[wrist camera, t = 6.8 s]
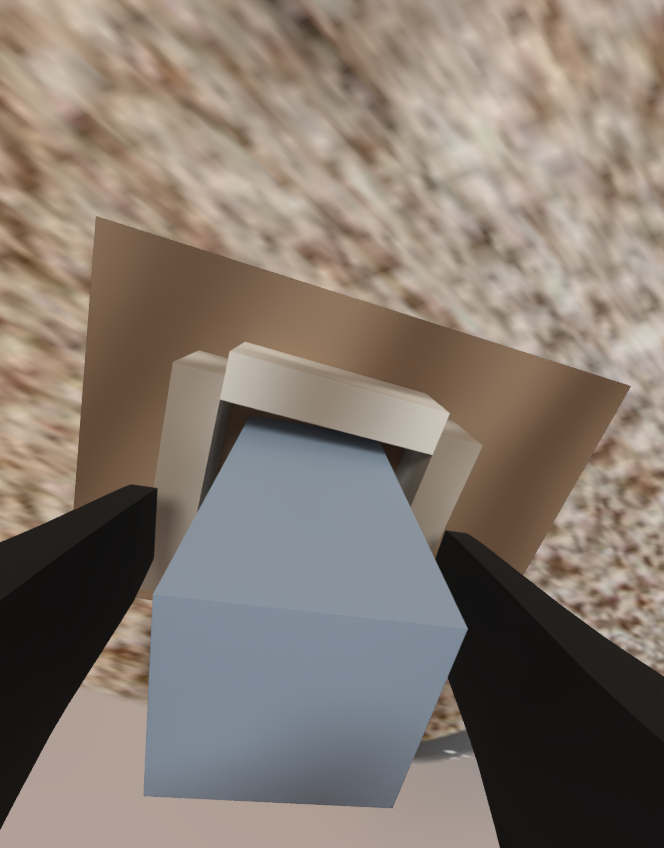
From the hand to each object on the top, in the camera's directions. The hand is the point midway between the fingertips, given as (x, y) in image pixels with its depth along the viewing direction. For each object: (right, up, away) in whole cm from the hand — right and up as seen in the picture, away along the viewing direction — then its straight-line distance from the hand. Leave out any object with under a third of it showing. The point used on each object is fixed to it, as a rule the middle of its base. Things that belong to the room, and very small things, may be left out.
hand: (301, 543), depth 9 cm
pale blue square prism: (0, +1, +3) cm, 3 cm away
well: (0, +1, +3) cm, 4 cm away
